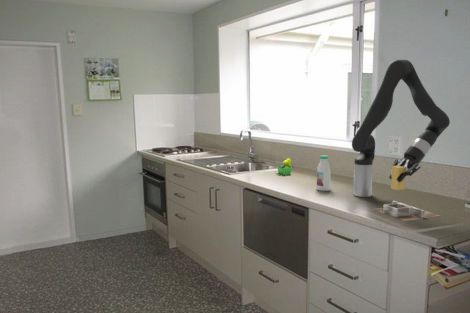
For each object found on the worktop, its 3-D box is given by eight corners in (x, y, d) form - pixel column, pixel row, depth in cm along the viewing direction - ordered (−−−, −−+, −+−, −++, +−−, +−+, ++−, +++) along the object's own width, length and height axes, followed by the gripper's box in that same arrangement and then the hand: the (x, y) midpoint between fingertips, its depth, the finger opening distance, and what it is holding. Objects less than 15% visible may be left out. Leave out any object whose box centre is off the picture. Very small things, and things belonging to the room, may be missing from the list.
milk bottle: (328, 188, 232) (328, 154, 229) (331, 191, 224) (332, 156, 221) (315, 188, 232) (315, 154, 229) (318, 191, 224) (318, 156, 221)
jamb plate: (372, 211, 183) (372, 201, 182) (406, 206, 190) (407, 197, 189) (404, 223, 164) (404, 213, 164) (440, 217, 171) (441, 207, 170)
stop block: (390, 188, 175) (391, 166, 173) (398, 187, 176) (398, 165, 175) (397, 190, 171) (398, 167, 170) (404, 189, 172) (405, 167, 171)
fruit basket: (276, 173, 282) (276, 157, 281) (287, 172, 285) (287, 156, 283) (282, 175, 271) (282, 159, 270) (294, 174, 274) (294, 158, 272)
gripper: (401, 143, 180) (378, 171, 178) (425, 147, 167) (401, 177, 165) (409, 154, 183) (387, 182, 180) (434, 158, 169) (411, 188, 167)
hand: (394, 179), depth 172 cm, fingers closed on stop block, 4 cm apart
